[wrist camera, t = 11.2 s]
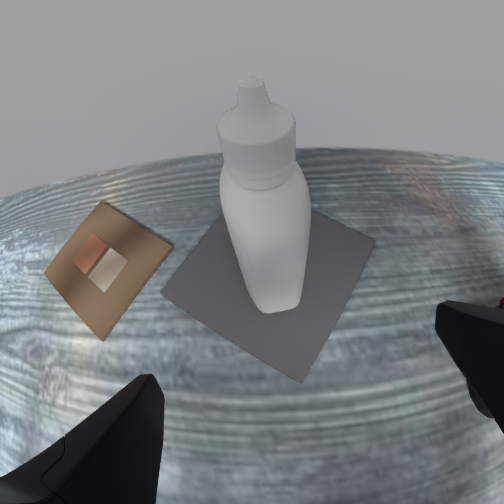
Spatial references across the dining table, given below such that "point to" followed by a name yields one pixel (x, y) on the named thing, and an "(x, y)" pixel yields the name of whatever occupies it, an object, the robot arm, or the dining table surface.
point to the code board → (105, 267)
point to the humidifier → (473, 394)
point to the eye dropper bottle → (264, 197)
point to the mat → (279, 323)
